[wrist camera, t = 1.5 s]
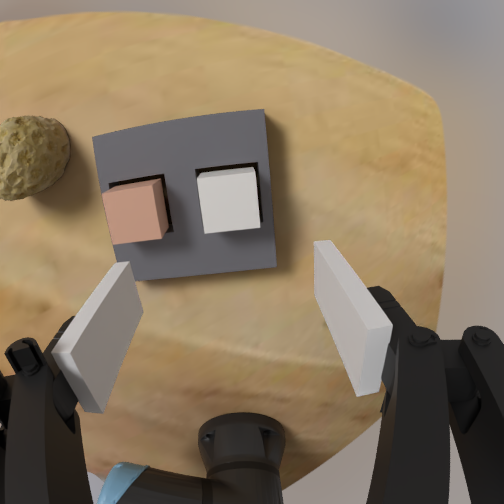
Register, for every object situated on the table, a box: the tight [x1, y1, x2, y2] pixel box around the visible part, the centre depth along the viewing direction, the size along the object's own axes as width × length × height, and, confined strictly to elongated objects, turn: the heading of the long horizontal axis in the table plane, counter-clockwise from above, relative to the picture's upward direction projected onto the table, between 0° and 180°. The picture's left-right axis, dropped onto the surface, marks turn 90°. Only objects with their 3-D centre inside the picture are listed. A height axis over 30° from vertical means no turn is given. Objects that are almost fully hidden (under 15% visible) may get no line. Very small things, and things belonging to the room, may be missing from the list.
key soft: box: [197, 167, 260, 234], centre depth 29 cm, size 5×5×4 cm
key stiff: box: [102, 179, 169, 245], centre depth 29 cm, size 5×5×4 cm
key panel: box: [92, 109, 277, 281], centre depth 32 cm, size 16×17×3 cm
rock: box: [0, 116, 70, 201], centre depth 27 cm, size 10×11×10 cm
